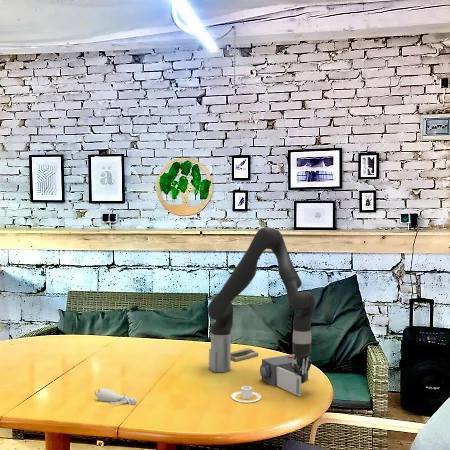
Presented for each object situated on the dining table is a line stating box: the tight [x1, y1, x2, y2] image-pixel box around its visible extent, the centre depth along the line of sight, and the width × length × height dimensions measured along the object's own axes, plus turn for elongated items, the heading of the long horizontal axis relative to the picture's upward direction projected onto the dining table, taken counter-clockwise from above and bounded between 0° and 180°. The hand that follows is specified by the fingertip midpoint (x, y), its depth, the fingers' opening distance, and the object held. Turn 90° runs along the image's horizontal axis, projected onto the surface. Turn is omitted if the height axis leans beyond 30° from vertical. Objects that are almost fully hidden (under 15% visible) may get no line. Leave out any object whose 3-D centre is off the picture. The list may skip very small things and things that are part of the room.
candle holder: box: [231, 385, 262, 404], centre depth 202 cm, size 12×12×4 cm
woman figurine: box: [94, 387, 137, 406], centre depth 197 cm, size 12×4×18 cm
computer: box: [230, 347, 259, 363], centre depth 256 cm, size 16×8×3 cm, turn 131°
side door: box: [275, 366, 302, 397], centre depth 208 cm, size 15×2×8 cm, turn 33°
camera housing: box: [259, 353, 309, 387], centre depth 222 cm, size 20×10×10 cm, turn 119°
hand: (301, 382), depth 206 cm, fingers closed
